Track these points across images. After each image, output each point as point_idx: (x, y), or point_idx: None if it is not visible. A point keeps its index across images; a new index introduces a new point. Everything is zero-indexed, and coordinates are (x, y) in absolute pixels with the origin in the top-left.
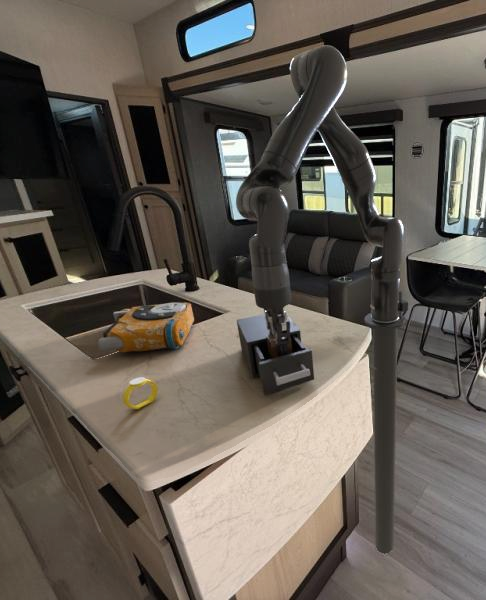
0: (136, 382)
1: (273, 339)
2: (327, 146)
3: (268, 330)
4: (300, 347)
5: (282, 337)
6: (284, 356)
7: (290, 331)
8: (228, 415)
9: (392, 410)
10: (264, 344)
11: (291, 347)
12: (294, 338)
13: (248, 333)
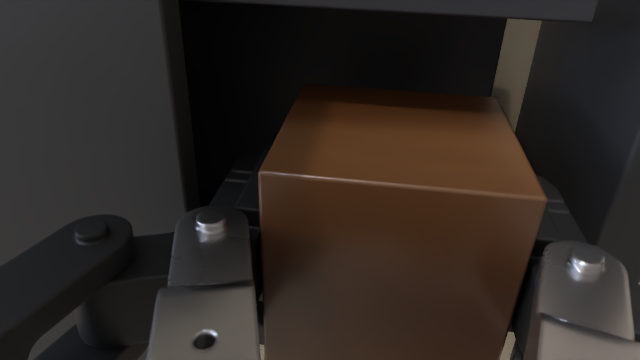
0: None
1: (426, 353)
2: None
3: (19, 216)
4: (518, 15)
5: (443, 268)
6: (623, 248)
7: (134, 21)
8: (508, 354)
9: None
10: None
11: (513, 138)
12: (267, 2)
13: (35, 352)
